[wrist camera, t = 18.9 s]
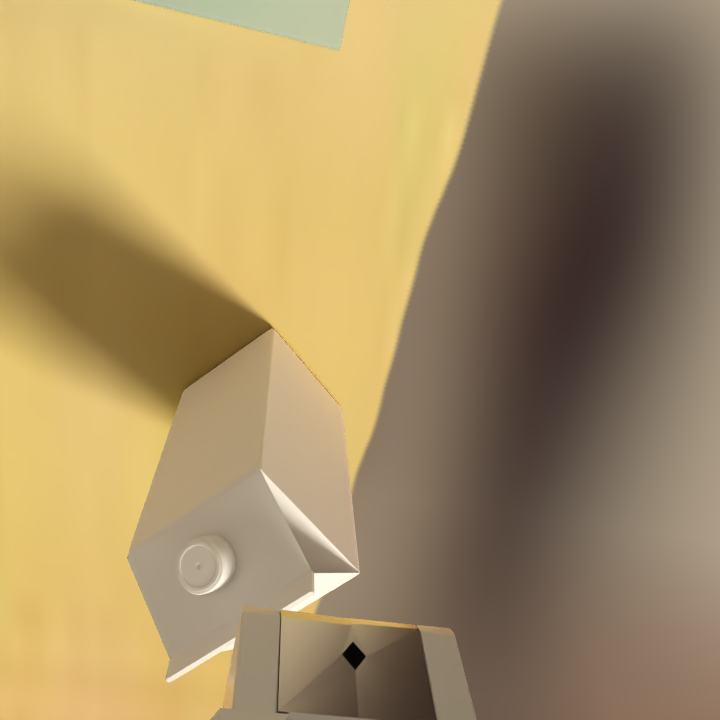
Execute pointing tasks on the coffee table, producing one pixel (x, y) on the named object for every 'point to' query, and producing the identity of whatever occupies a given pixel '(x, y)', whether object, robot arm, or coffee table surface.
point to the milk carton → (244, 503)
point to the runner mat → (274, 16)
